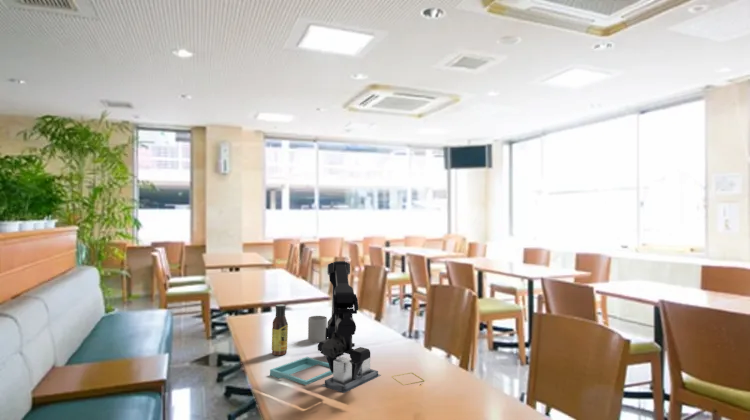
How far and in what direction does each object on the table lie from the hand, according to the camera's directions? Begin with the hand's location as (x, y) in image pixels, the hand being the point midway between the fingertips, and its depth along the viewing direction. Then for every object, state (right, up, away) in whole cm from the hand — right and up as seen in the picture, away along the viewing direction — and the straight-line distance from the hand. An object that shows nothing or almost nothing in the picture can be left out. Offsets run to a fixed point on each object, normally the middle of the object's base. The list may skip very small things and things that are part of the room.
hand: (343, 375), depth 148 cm
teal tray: (-14, -4, +12) cm, 19 cm away
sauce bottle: (-29, -4, +35) cm, 46 cm away
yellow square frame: (+22, -5, +6) cm, 23 cm away
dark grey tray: (+3, -4, +4) cm, 6 cm away
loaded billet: (+6, -3, +8) cm, 10 cm away
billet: (0, -3, 0) cm, 3 cm away
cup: (-16, -4, +56) cm, 58 cm away
